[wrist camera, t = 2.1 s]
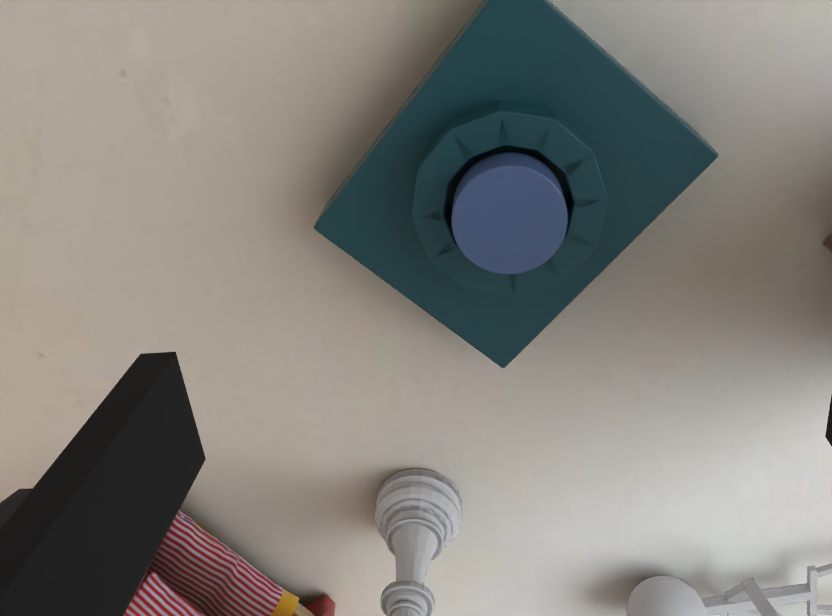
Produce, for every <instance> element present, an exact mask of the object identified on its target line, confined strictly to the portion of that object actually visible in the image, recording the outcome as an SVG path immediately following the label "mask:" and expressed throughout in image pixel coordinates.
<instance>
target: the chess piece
mask: <svg viewBox="0 0 832 616" xmlns="http://www.w3.org/2000/svg"><path fill="white" fill-rule="evenodd" d="M461 514H462V501H461V497H460V495H459V492H458V490H457V489H456V487H455V486H454V485H453V483H451V482H450V481H449V480H448V479H446V478H445V477H444V476H442V475H440V474H437V473H435V472H432V471H428V470H424V469H411V470H405V471H401V472H399V473H397V474H394V475H392V476H391V477H390V478H388V479H387V480H386V481H385V482H384V483H383V485H382V486H381V488H380V489H379V493H378V496H377V500H376V512H375V524H376V527H377V529H378V532H379V533H380V535H381V536H382V537H383V539H384V540H385V541H386V543H387V546H388V548H389V550H390V551H391V553H392V554H393V555H394V556H395V559H396V581H395V582H393V583H391V584H389V585H388V586H386V588H385V589H384V591H383V592H382V596H381V608H382V610H383V612H384V614H385V615H386V616H431V615H432V613H433V610H434V597H433V594H432V592H431V591H430V590H429V589H428V588H427V587H426V586H425V585H424V580H425V575H426V572H427V568H428V565H429V563H430V561H431V560H433V559H434V558H436V557H437V556H438V555H439V554H440V552H441V551H442V549H443V548H445V547H446V546H447V545H449V544H450V543H451V542H452V541H453V540H454V538H455V537H456V536H457V534H458V531H459V528H460V518H461Z"/></svg>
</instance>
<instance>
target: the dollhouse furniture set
mask: <svg viewBox="0 0 832 616" xmlns="http://www.w3.org/2000/svg"><path fill="white" fill-rule="evenodd" d="M298 601H299V598H298V597H297V596H295V595H293V594H292V593H290V592H288V591H286V590H285V589H283V588H281V587H280V586H279V585H277V584H276V583H274V582H273V581H272V580H270V579H269V578H267V577H266V576H265V575H264V574H263V573H261V572H260V571H258V570H257V569H255V568H254V567H253V566H252V565H250V564H249V563H248V562H247V561H245V560H244V559H243V558H242V557H241V556H239V555H238V554H237V553H236V552H234V551H233V550H231V549H229V548H228V547H227V545H226V544H224V543H222V542H220V541H219V540H218V539H217V538H215V537H213V536H212V535H210V534H209V533H208V532H206V531H205V530H204V529H203V528H202V527H200V526H199V525H198V524H197V523H196V522H195V521H194V520H193V519H191V518H190V517H188V516H187V515H185V514H184V513H182V512H181V511H180V510H179V511H178V512H177V514H176V516H175V518H174V520H173V522H172V524H171V526H170V528H169V530H168V532H167V533H166V535H165V537H164V539H163V541H162V543H161V545H160V547H159V549H158V551H157V553H156V554H155V556H154V558H153V560H152V562H151V564H150V566H149V568H148V570H147V572H146V573H145V575H144V577H143V579H142V581H141V583H140V585H139V587H138V589H137V591H136V593H135V594H134V596H133V598H132V600H131V602H130V604H129V606H128V608H127V610H126V612H125V614H124V615H123V616H334V612H335V602H334V601H333V600H331V599H330V597H329V596H328V595H326V594H324V595H322V596H320V597H319V598H317V599H316V600H315V601H313V602H312V603H311V604H309V605H308V606H307V607H304V606H303V605H301V604H300V603H298Z"/></svg>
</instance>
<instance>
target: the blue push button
mask: <svg viewBox="0 0 832 616" xmlns="http://www.w3.org/2000/svg"><path fill="white" fill-rule="evenodd" d="M451 222H452V231H453V235H454V238H455V241H456V243H457V245H458V247H459V248H460V250H461V251H462V253H463V254H464V255H465V256H466V257H467V258H468V259H469V260H470V261H471V262H473V263H474V264H476V265H477V266H479V267H481V268H483V269H485V270H487V271H490V272H494V273H499V274H517V273H523V272H526V271H529V270H532V269H534V268H536V267H538V266H540V265H542V264H543V263H544V262H546V261H547V260H548V259H549V258H550V257H552V256H553V254H554V253H555V252H556V251H557V250H558V248H559V246H560V245H561V243H562V241H563V239H564V236H565V233H566V230H567V224H568V214H567V207H566V203H565V200H564V196H563V192H562V189H561V186H560V183H559V181H558V179H557V178H556V176H555V175H554V173H553V172H552V171H551V170H550V169H549V168H548V167H547V166H546V165H545V164H544V163H542V162H541V161H540V160H538V159H536V158H534V157H532V156H529V155H526V154H522V153H515V152H504V153H497V154H494V155H490V156H488V157H486V158H483V159H482V160H480V161H478V162H477V163H475V164H474V165H473V166H472V167H470V168H469V169H468V170H467V172H466V173H465V174H464V175H463V177H462V178H461V180H460V182H459V183H458V186H457V188H456V191H455V195H454V201H453V209H452V218H451Z"/></svg>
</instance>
